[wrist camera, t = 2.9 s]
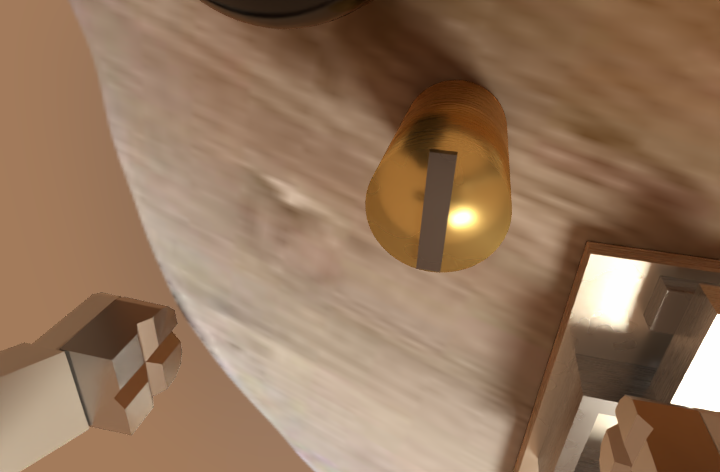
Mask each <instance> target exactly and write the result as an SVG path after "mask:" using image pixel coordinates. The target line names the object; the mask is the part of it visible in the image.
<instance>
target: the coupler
mask: <svg viewBox="0 0 720 472" xmlns="http://www.w3.org/2000/svg"><path fill="white" fill-rule="evenodd" d="M365 205H366V215H367V220H368V223H369V226H370V229H371V231H372V233H373V235H374V236H375V238H376V239H377V241H378V242H379V243H380V245H381V246H382V247H383V248H384V249H385V250H386V251H387V252H388V253H389V254H390V255H392V256H393V257H394V258H396V259H397V260H399V261H401V262H402V263H404V264H407V265H409V266H411V267H414V268H416V269H420V270H424V271H430V272H453V271H459V270H463V269H466V268H469V267H472V266H474V265H476V264H478V263H480V262H481V261H483V260H485V259H486V258H487V257H489V256H490V255H491V254H492V253H493V252H494V251H495V250H496V249H497V248H498V247H499V246H500V244H501V243H502V241H503V240H504V238H505V236H506V234H507V232H508V229H509V226H510V222H511V215H512V203H511V186H510V169H509V152H508V136H507V122H506V117H505V113H504V111H503V108H502V106H501V104H500V103H499V101H498V100H497V99H496V98H495V96H494V95H493V94H492V93H490V92H489V91H488V90H487V89H485V88H484V87H482V86H480V85H478V84H476V83H473V82H469V81H464V80H449V81H444V82H440V83H437V84H435V85H433V86H431V87H429V88H427V89H426V90H425V91H423V92H422V93H421V94H420V95H419V96H418V97H417V98H416V99H415V100H414V102H413V103H412V105H411V106H410V108H409V110H408V112H407V114H406V115H405V117H404V119H403V121H402V123H401V125H400V127H399V128H398V130H397V132H396V134H395V136H394V138H393V140H392V142H391V143H390V145H389V147H388V149H387V151H386V153H385V155H384V156H383V158H382V160H381V162H380V164H379V166H378V168H377V170H376V171H375V173H374V175H373V177H372V179H371V181H370V184H369V186H368V190H367V193H366V201H365Z"/></svg>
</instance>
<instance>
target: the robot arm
mask: <svg viewBox="0 0 720 472" xmlns="http://www.w3.org/2000/svg"><path fill="white" fill-rule="evenodd" d="M176 325H177V319H176V314H175V310H174V309H172V308H170V307H168V306H164V305H160V304H155V303H150V302H146V301H141V300H137V299H132V298H128V297H120V296H116V295H112V294H107V293H103V292H100V293H97V294H92V295H91V296H90V297H89V298H87V300H85V301H84V302H83V303H81V304H80V305H79V306H78V307H76V308H75V309H74V310H73V311H72V312H70V313H69V314H68V315H67V316H65V317H64V318H63V319H62V320H61V321H59V322H58V323H57V324H56V325H55V326H53V327H52V328H51V329H50V330H48V331H47V332H46V333H45V334H43V335H42V336H41V337H40V338H39V339H37V340H36V341H35V342H34V343H32V344H28V343H22V344H19V345H17V346H14V347H11V348H8V349H6V350H3V351H0V472H20V471H22V470H23V469H25V468H27V467H28V466H30V465H31V464H33V463H35V462H36V461H38V460H40V459H41V458H43V457H45V456H46V455H48V454H49V453H51V452H53V451H54V450H56V449H57V448H59V447H61V446H62V445H64V444H66V443H67V442H69V441H70V440H72V439H74V438H75V437H77V436H78V435H80V434H82V433H83V432H85V431H87V430H88V429H89V426H90V427H95V428H100V429H104V430H109V431H114V432H119V433H123V434H128V435H132V434H133V433H134V432H135V430H136V429H137V428H138V426H139V425H140V424H141V422H142V421H143V420H144V419H145V417H146V416H147V415H148V413H149V412H150V411H151V409H152V408H153V396H154V395H156V394H158V393H160V392H162V391H164V390H166V389H167V388H168V387H169V386H170V384H171V383H172V381H173V380H174V379H175V377H176V374H177V372H178V369H179V367H180V364H181V357H182V348H181V342H180V340H179V339H178V338H177V337H176V336H175V334H174V333H173V332H172V330H173V329H174V327H175V326H176ZM615 414H616V418H617V422H618V424H616V425H614V426H612V427H610V428H608V429H607V430H606V432H605V435H604V437H603V440H602V443H601V449H600V457H599V464H600V472H720V412H718V411H712V410H707V409H701V408H696V407H691V408H690V407H688V406H682V405H677V404H672V403H666V402H661V401H656V400H650V399H645V398H639V397H634V396H629V395H625V396H623V397H622V398H621V399H620V400H619V402H618V405H617V407H616V409H615Z"/></svg>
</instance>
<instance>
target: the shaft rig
mask: <svg viewBox="0 0 720 472" xmlns="http://www.w3.org/2000/svg"><path fill="white" fill-rule="evenodd" d="M625 395H629V396H634V397H639V398H645V399H650V400H656V401H661V402H666V403H672V404H677V405H682V406H688V407H690V408H691V407H696V408H701V409H707V410H712V411H718V412H720V260H715V259H708V258H701V257H694V256H687V255H680V254H673V253H666V252H659V251H652V250H645V249H638V248H631V247H624V246H617V245H610V244H603V243H596V242H589V241H587V242H586V246H585V249H584V252H583V255H582V258H581V261H580V264H579V267H578V270H577V274H576V277H575V280H574V283H573V286H572V289H571V292H570V295H569V298H568V302H567V305H566V308H565V311H564V314H563V317H562V320H561V323H560V327H559V330H558V333H557V336H556V339H555V342H554V345H553V348H552V351H551V355H550V358H549V361H548V364H547V367H546V370H545V373H544V376H543V379H542V383H541V386H540V389H539V392H538V395H537V398H536V401H535V404H534V407H533V411H532V414H531V417H530V420H529V423H528V426H527V429H526V432H525V436H524V439H523V442H522V445H521V448H520V451H519V454H518V457H517V460H516V464H515V467H514V470H513V472H600V464H599V457H600V449H601V443H602V440H603V437H604V435H605V432H606V430H607V429H608V428H610V427H612V426H614V425H616V424H618V422H617V418H616V414H615V409H616V407H617V405H618V402H619V400H620V399H621V398H622V397H623V396H625Z"/></svg>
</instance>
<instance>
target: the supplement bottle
mask: <svg viewBox="0 0 720 472" xmlns="http://www.w3.org/2000/svg"><path fill="white" fill-rule="evenodd" d="M200 1H201V2H203V3H204V4H206V5H208V6H209V7H211V8H212V9H214V10H216V11H218V12H220V13H222V14H224V15H226V16H228V17H230V18H233V19H235V20H238V21H241V22H244V23H248V24H251V25H255V26H260V27H265V28H273V29H298V28H304V27H311V26H315V25H319V24H323V23H326V22H329V21H333V20H335V19H338V18H340V17H343V16H345V15H347V14H349V13H351V12H353V11H355V10H357V9H359V8H361V7H362V6H364V5H366V4H368V3H370V2H372V1H374V0H200Z"/></svg>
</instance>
